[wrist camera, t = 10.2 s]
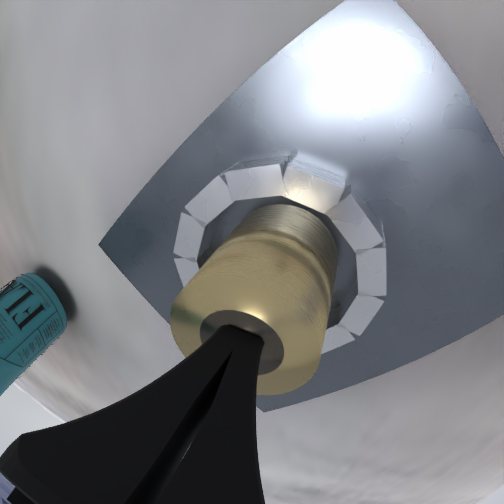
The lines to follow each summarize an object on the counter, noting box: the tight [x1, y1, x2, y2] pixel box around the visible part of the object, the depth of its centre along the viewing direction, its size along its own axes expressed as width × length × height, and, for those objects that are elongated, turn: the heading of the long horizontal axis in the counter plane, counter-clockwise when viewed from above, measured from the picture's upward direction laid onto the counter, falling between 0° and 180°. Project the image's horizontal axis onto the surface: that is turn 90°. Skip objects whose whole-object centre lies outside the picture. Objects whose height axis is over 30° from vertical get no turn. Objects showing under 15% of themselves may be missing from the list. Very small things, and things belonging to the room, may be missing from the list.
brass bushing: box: [170, 204, 338, 395], centre depth 12 cm, size 5×5×6 cm
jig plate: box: [98, 0, 504, 412], centre depth 15 cm, size 16×20×2 cm
